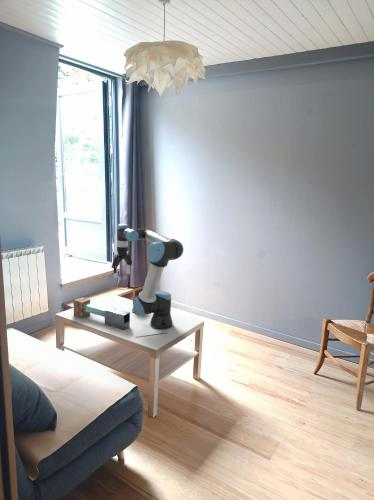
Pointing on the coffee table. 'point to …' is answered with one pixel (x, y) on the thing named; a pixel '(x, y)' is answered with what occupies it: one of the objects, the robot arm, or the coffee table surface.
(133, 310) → the mug
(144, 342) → the coffee table surface
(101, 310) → the teal square bar
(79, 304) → the socket
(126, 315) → the sleeve
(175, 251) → the robot arm
